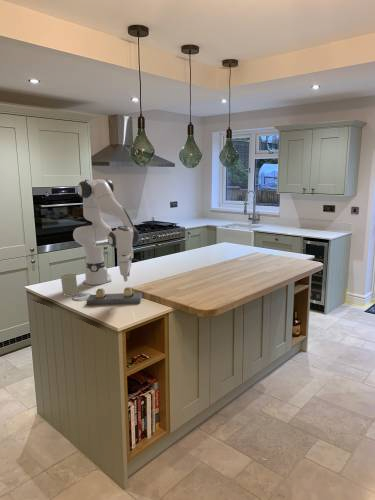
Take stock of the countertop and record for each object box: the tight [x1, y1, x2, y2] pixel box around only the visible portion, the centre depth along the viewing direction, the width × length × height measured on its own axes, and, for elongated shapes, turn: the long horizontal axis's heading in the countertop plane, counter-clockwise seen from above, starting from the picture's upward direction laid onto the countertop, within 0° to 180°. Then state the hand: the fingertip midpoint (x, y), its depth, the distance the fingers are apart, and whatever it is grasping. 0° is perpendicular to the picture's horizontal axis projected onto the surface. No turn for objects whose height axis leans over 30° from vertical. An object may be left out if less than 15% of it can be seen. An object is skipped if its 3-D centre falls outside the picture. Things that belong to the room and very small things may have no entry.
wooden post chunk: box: [123, 286, 133, 297], centre depth 221 cm, size 4×4×8 cm
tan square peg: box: [95, 288, 106, 299], centre depth 221 cm, size 4×4×8 cm
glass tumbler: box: [60, 273, 79, 296], centre depth 239 cm, size 9×9×12 cm
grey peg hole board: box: [86, 292, 143, 306], centre depth 222 cm, size 10×30×3 cm, turn 91°
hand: (126, 278), depth 220 cm, fingers open, 8 cm apart
